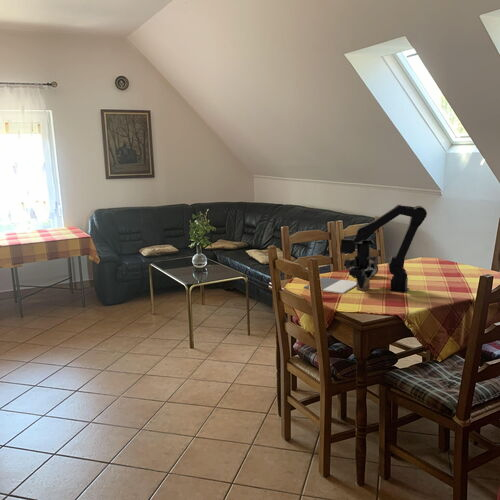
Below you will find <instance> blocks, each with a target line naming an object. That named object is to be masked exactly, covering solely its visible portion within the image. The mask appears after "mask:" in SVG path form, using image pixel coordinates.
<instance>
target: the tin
mask: <svg viewBox="0 0 500 500" xmlns="http://www.w3.org/2000/svg"><path fill="white" fill-rule="evenodd" d="M370 262H375V263H376V264H377V262H376V261H375V260H372V259H370ZM352 268H354V266H353V267H349V268H347V272H349V271H350V270H351V269H352ZM371 270H374V271H373V273H372V275H371V277H374V276H376V275H377V274H378V272H379V266H378V264H377V268H376V269H373V268H371ZM353 277H355V276H353ZM371 277H370V278H371ZM355 278H356V277H355Z"/></svg>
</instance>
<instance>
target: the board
mask: <svg viewBox="0 0 500 500" xmlns="http://www.w3.org/2000/svg"><path fill="white" fill-rule="evenodd" d="M319 279H320V281H321V289H322V291H321V292H328V293H335V294H341V295H343V294H346V293H347V292H348V291H350V290H351V289H353V288H355V287H356V284H357V281H354V280H348V279H347V280H346V279H338V278H331V277H321V278H319ZM303 289H306V290H310V289H309V284H307V285H305V286H303Z"/></svg>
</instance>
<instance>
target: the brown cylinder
mask: <svg viewBox="0 0 500 500" xmlns="http://www.w3.org/2000/svg"><path fill="white" fill-rule="evenodd" d="M370 278H371V277H370ZM370 278H366V279H365V282H364V285H363V287H362V288H360V287H359V284H358V281H357V280H356V282H357V284H356V286H355V287H356V290H357V291H361V292H362V291H363V292H366V291H368V290H371V289H370V285H371V282H370Z"/></svg>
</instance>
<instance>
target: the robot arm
mask: <svg viewBox="0 0 500 500" xmlns="http://www.w3.org/2000/svg"><path fill="white" fill-rule="evenodd" d="M400 215H402V216H406V217H410V218H409V223H408V226H407V228H406V231H405V233H404V235H403V238H402V240H401V242H400V245H399V246H398V249H397V251H396V253H395V254H394V255H393V254H390V258H389V261H387V266H388V271H389V273H390V274H391V275H393V276H391V279H390V289H389V290H390V291H391V292H398V293H406V292H407V291H408V290H409V287H408V280H409V276H408V273H407V270H406V269H405V268H404V265H405V259H406V256H407V253H408V251H409V249H410V246H411V244H412V241H413V240H414V237H415V235H416V233H417V231H418V228H419V227H420V226H421V225H422V224H423V222H424V221H425V220H426V218H427V215H428V213H427V210H426V208H424V207H423V206H422V205H416V206H409V205H401V204H397V205H395V206H394V207H393V208H391V209H389V210H388V211H386V212H385V213H384V214H382V215H381V216H379V217H378V218H376V219H374V220H372V221H371V222H368V223H365V224H362V225H361V226H359V227H358V228H357V232H356V234H355V235H354V237H353V238H349V239H348V238H341V240H340V247H339V248H340V254H342V255H344V254H347V255H350V254H354V253H355V252H356V255H355V256H354V258H352V259H349V258H348V259H344V262H343V266H344V267H345V269H348V268H349V267H353V266H354V268H352V269H351V270H350V271H348V276H352V277H354V276H355V278H356V282H357V281H358V284H359V287H360V288H362V287H363V285H364V282H365V279H366V278H371V275H372V273H373V271H374V270H371V268H373V269H376V268H377V265H378V264H376V263H377V262H376V261H375V262H376V263H375V262H370V260H371V259H372V255H371V253H370V252H371V245H375V242H374V241H373V239H372V238H370V237H372V235H374V234H375V232H377V230H378V229H380V228H381V227H383V226H385V225H386V224H388V223H389V222H390V221H393V219H395V218H397V217H399V216H400Z"/></svg>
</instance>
